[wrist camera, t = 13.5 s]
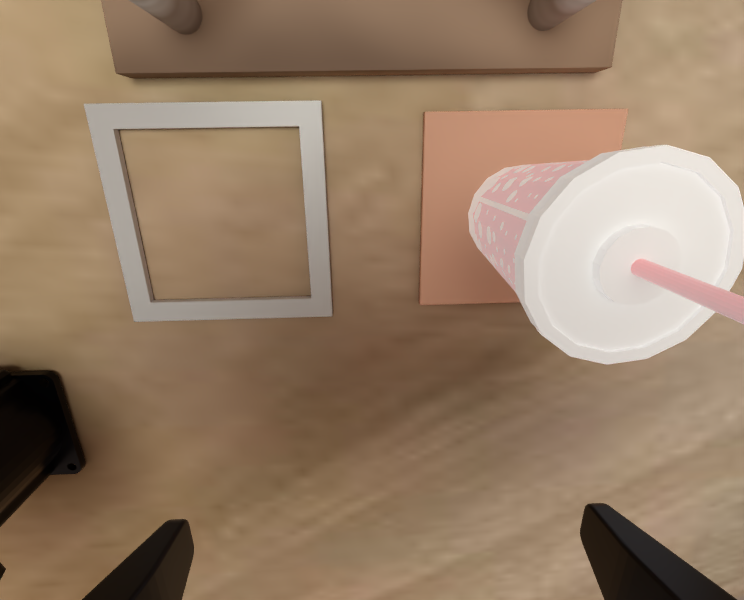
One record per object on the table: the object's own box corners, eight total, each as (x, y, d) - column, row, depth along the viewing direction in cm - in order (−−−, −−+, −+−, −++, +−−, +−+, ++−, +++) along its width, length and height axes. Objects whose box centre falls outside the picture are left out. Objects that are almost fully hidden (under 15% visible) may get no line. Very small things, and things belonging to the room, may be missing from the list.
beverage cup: (534, 296, 21) (826, 538, 8) (429, 246, 20) (565, 430, 7) (605, 183, 19) (1138, 256, 6) (494, 122, 18) (848, 51, 5)
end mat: (589, 297, 22) (593, 300, 21) (418, 302, 21) (420, 304, 21) (622, 109, 19) (628, 108, 18) (423, 112, 18) (425, 111, 18)
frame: (332, 313, 21) (332, 316, 21) (138, 318, 21) (134, 321, 21) (321, 101, 18) (320, 100, 18) (89, 104, 18) (83, 103, 17)
